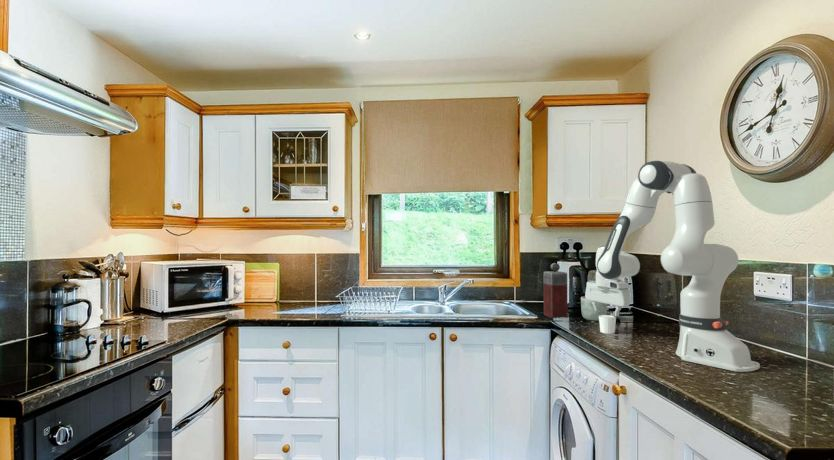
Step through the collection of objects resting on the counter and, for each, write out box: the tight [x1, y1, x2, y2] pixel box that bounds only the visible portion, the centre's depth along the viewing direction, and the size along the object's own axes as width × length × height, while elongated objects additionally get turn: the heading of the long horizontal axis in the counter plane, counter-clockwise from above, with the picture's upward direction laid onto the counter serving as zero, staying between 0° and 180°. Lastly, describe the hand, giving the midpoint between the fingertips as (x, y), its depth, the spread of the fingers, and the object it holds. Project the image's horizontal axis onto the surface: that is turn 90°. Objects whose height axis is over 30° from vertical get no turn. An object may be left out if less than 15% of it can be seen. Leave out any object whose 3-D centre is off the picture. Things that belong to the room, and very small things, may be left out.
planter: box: [580, 295, 608, 322], centre depth 198 cm, size 12×12×11 cm
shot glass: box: [598, 314, 617, 335], centre depth 170 cm, size 7×7×7 cm
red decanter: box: [543, 262, 568, 319], centre depth 208 cm, size 9×11×28 cm
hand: (606, 313), depth 171 cm, fingers open, 8 cm apart
